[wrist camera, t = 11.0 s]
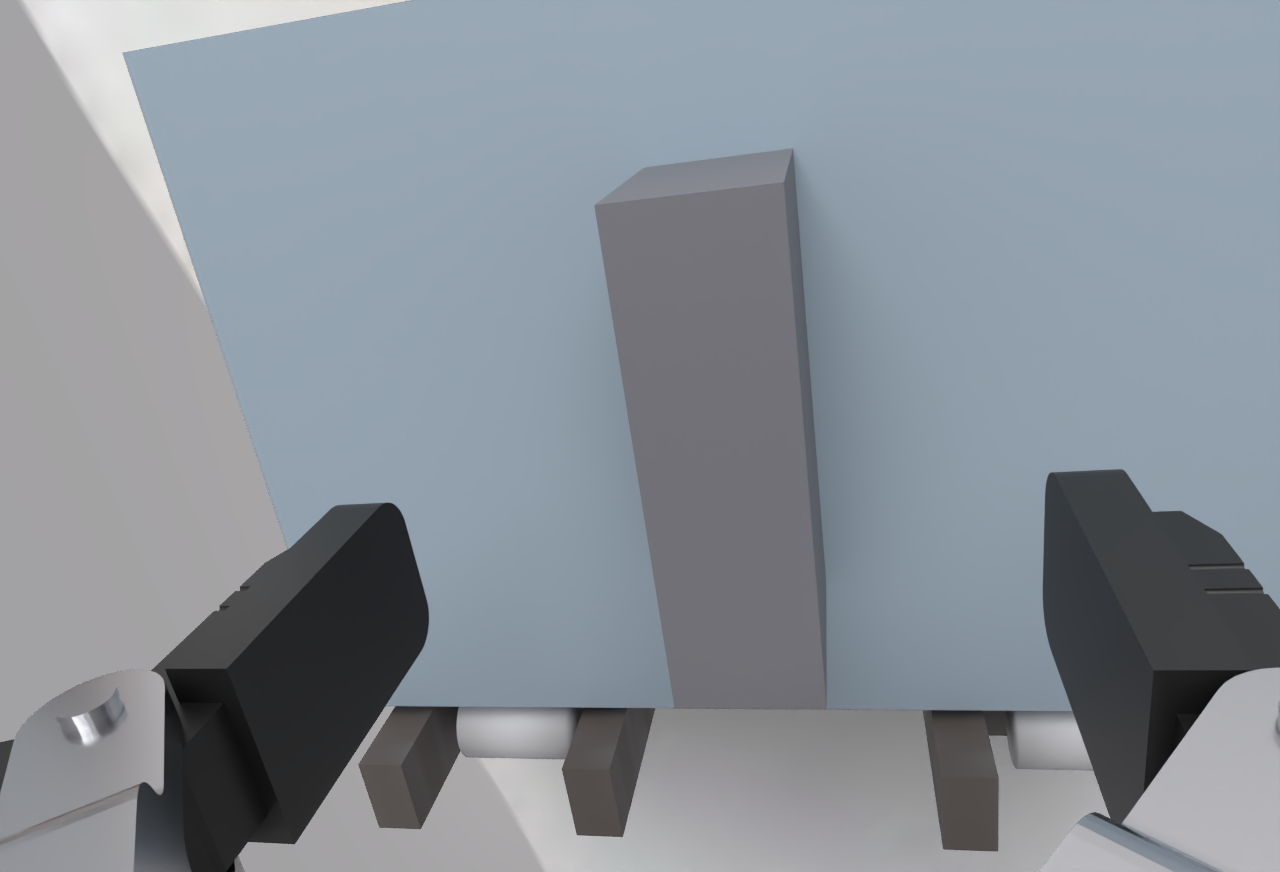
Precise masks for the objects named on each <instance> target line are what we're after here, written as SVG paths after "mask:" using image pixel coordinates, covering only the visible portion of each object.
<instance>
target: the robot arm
mask: <svg viewBox="0 0 1280 872" xmlns="http://www.w3.org/2000/svg"><path fill="white" fill-rule="evenodd" d="M1043 611H1044V620H1045V627H1046V633H1047V638H1048V642H1049V646H1050V649H1051V652H1052V655H1053V658H1054V660H1055V663H1056V666H1057V669H1058V672H1059V675H1060V677H1061V680H1062V683H1063V686H1064V689H1065V691H1066V694H1067V697H1068V700H1069V703H1070V706H1071V708H1072V711H1073V714H1074V717H1075V720H1076V722H1077V725H1078V728H1079V731H1080V734H1081V736H1082V739H1083V742H1084V745H1085V748H1086V751H1087V753H1088V756H1089V759H1090V762H1091V765H1092V767H1093V770H1094V773H1095V776H1096V779H1097V782H1098V784H1099V787H1100V790H1101V793H1102V796H1103V798H1104V801H1105V804H1106V807H1107V810H1108V812H1109V815H1110V818H1111V819H1110V818H1108V817H1106V816H1104V815H1101V814H1099V813H1096V812H1094V813H1090V814H1088V815H1086V816H1085V817H1083V818H1082V819H1081V820H1080V821H1079V822H1078V823H1077V824H1076V825H1075V826H1074V827H1073V828H1072V829H1071V831H1070V832H1069V833H1068V834H1067V836H1066V837H1065V838H1064V840H1063V841H1062V842H1061V844H1060V845H1059V846H1058V847H1057V849H1056V850H1055V851H1054V853H1053V854H1052V855H1051V857H1050V858H1049V859H1048V860H1047V862H1046V863H1045V864H1044V866H1043V867H1042V868H1041V870H1040V871H1039V872H1280V609H1279V607H1278V606H1277V605H1276V603H1275V602H1274V601H1273V600H1272V598H1271V597H1270V596H1269V594H1264V592H1263V587H1262V585H1261V584H1260V583H1259V582H1258V580H1257V579H1256V578H1255V576H1254V575H1253V574H1252V572H1251V571H1250V570H1249V569H1245V567H1244V562H1243V561H1242V560H1241V558H1240V557H1239V556H1238V554H1237V553H1236V552H1235V551H1234V549H1233V548H1232V547H1231V545H1230V544H1229V543H1228V542H1227V540H1226V539H1225V538H1224V536H1223V535H1222V534H1221V533H1219V532H1217V531H1215V530H1214V529H1212V528H1210V527H1208V526H1207V525H1205V524H1203V523H1202V522H1200V521H1198V520H1196V519H1195V518H1193V517H1191V516H1190V515H1188V514H1186V513H1184V512H1183V511H1159V512H1152V510H1151V509H1150V507H1149V506H1148V504H1147V503H1146V501H1145V500H1144V498H1143V497H1142V495H1141V494H1140V492H1139V491H1138V489H1137V488H1136V486H1135V485H1134V483H1133V482H1132V480H1131V479H1130V477H1129V476H1128V474H1127V473H1126V472H1125V471H1124V470H1123V469H1112V470H1091V471H1069V472H1051V473H1049V475H1048V477H1047V481H1046V488H1045V515H1044V555H1043ZM428 628H429V609H428V603H427V599H426V595H425V592H424V588H423V584H422V581H421V577H420V573H419V570H418V566H417V563H416V559H415V555H414V552H413V548H412V545H411V541H410V537H409V534H408V530H407V527H406V523H405V520H404V517H403V515H402V513H401V511H400V510H399V508H398V507H397V506H396V505H394V504H393V503H368V504H347V505H337V506H334V507H333V508H331V509H330V510H329V511H328V512H327V513H326V514H325V515H324V516H323V517H322V518H321V519H320V520H319V521H318V522H317V523H316V524H315V525H313V526H312V527H311V528H310V529H309V530H308V531H307V532H306V533H305V534H304V535H303V536H302V537H301V538H300V539H299V540H298V541H297V542H296V543H295V544H294V545H293V546H292V547H291V548H290V549H288V550H286V551H284V552H283V553H281V554H279V555H278V556H276V557H274V558H273V559H271V560H269V561H268V562H266V563H264V565H262V566H261V567H260V568H259V569H258V570H257V571H256V572H255V573H254V574H253V575H252V576H251V577H250V578H249V579H248V580H247V581H245V582H244V583H243V584H242V585H241V586H240V591H235V592H234V593H233V594H232V595H231V596H230V597H229V598H227V600H225V601H224V602H223V603H222V604H221V605H220V610H219V611H214V612H213V613H212V614H211V615H210V616H209V617H207V618H206V619H205V620H204V621H203V622H202V623H201V624H200V625H199V626H198V627H197V628H196V629H195V630H194V631H193V632H192V633H191V634H190V635H188V636H187V637H186V638H185V639H184V640H183V641H182V642H181V643H180V644H179V645H178V646H177V647H176V648H175V649H174V650H173V651H172V652H170V653H169V655H167V656H166V657H165V658H164V659H163V660H162V661H161V662H160V663H159V664H158V665H157V666H156V667H155V668H154V669H152V670H151V671H150V670H143V669H133V670H124V671H118V672H114V673H110V674H106V675H103V676H100V677H97V678H94V679H91V680H89V681H86V682H84V683H81V684H79V685H77V686H75V687H73V688H71V689H69V690H67V691H65V692H63V693H62V694H60V695H58V696H57V697H55V698H54V699H52V700H50V701H49V702H47V703H46V704H45V705H43V706H42V707H41V708H39V709H38V710H37V711H36V712H35V713H34V714H33V715H31V716H30V717H29V718H28V719H27V720H26V722H25V723H24V724H23V725H22V726H21V728H20V729H19V731H18V732H17V734H16V737H15V739H14V740H9V741H5V742H0V872H245V871H244V868H243V866H242V864H241V861H240V859H239V856H238V855H239V853H240V852H241V850H242V849H243V848H244V846H245V845H246V844H247V842H264V843H283V844H295V843H296V842H297V840H298V839H299V837H300V836H301V834H302V832H303V831H304V829H305V828H306V826H307V825H308V823H309V822H310V820H311V819H312V817H313V816H314V814H315V813H316V811H317V809H318V808H319V806H320V805H321V803H322V802H323V800H324V799H325V797H326V796H327V794H328V793H329V791H330V790H331V788H332V787H333V785H334V784H335V782H336V781H337V779H338V778H339V776H340V775H341V773H342V771H343V770H344V768H345V767H346V765H347V764H348V762H349V761H350V759H351V758H352V756H353V755H354V753H355V752H356V750H357V749H358V747H359V745H360V744H361V742H362V741H363V739H364V738H365V736H366V735H367V733H368V732H369V730H370V729H371V727H372V726H373V724H374V723H375V721H376V720H377V718H378V717H379V715H380V714H381V712H382V711H383V709H384V707H385V706H386V704H387V703H388V701H389V700H390V698H391V697H392V695H393V694H394V692H395V691H396V689H397V688H398V686H399V685H400V683H401V682H402V680H403V679H404V677H405V675H406V674H407V672H408V671H409V669H410V668H411V666H412V665H413V663H414V662H415V660H416V659H417V657H418V656H419V654H420V653H421V651H422V649H423V647H424V645H425V642H426V638H427V634H428Z"/></svg>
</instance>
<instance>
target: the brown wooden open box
mask: <svg viewBox="0 0 1280 872" xmlns="http://www.w3.org/2000/svg"><path fill="white" fill-rule="evenodd" d="M458 708H459V707H446V706H395V708H394V709H393V711H392V713H391V714H390V716H389V718H388V719H387V720H386V722H385V724H384V725H383V727H382V728H381V730H380V731H379V733H378V735H377V736H376V738H375V739H374V741H373V742H372V744H371V746H370V747H369V749H368V750H367V752H366V754H365V755H364V757H363V758H362V760H361V761H360V763H359V768H360V770H361V774H362V777H363V779H364V782H365V786H366V789H367V792H368V794H369V798H370V800H371V804H372V807H373V809H374V813H375V816H376V818H377V822H378V825H379V827H380V828H406V829H407V828H408V829H421V827H422V825H423V823H424V822H425V820H426V817H427V815H428V814H429V812H430V810H431V808H432V806H433V804H434V802H435V800H436V798H437V796H438V794H439V792H440V790H441V788H442V786H443V784H444V782H445V780H446V778H447V776H448V774H449V772H450V770H451V768H452V766H453V764H454V762H455V760H456V758H457V756H458V754H459V753H460V751H461V750H460V748H459V745H458V740H457V729H456V726H457V714H458ZM654 710H655V708H584V709H583V711H582V714H581V717H580V720H579V723H578V725H577V728H576V731H575V734H574V737H573V739H572V742H571V745H570V748H569V751H568V754H567V756H566V759H565V762H564V765H563V768H562V771H563V776H564V780H565V784H566V789H567V793H568V798H569V802H570V807H571V811H572V815H573V820H574V824H575V829H576V833H577V835H586V836H612V837H623V834H624V830H625V826H626V822H627V818H628V814H629V810H630V806H631V802H632V798H633V794H634V790H635V786H636V782H637V778H638V774H639V770H640V766H641V762H642V758H643V754H644V750H645V746H646V742H647V738H648V734H649V730H650V726H651V722H652V718H653V714H654ZM923 713H924V720H925V727H926V734H927V741H928V748H929V755H930V762H931V768H932V775H933V782H934V789H935V796H936V803H937V810H938V817H939V823H940V830H941V837H942V844H943V849H948V850H974V851H998V774H997V770H996V766H995V761H994V757H993V753H992V749H991V744H990V740H989V736H988V735H1003V736H1007V730H1006V719H1005V711H983V710H923Z"/></svg>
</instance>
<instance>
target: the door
mask: <svg viewBox="0 0 1280 872" xmlns="http://www.w3.org/2000/svg"><path fill="white" fill-rule="evenodd" d="M123 56H124V59H125V62H126V65H127V68H128V71H129V74H130V77H131V80H132V83H133V86H134V89H135V92H136V95H137V98H138V101H139V104H140V107H141V110H142V113H143V116H144V119H145V122H146V125H147V128H148V131H149V134H150V137H151V140H152V143H153V146H154V149H155V152H156V155H157V158H158V161H159V164H160V167H161V170H162V173H163V176H164V179H165V182H166V185H167V188H168V191H169V194H170V198H171V201H172V204H173V207H174V210H175V213H176V216H177V219H178V222H179V225H180V228H181V231H182V234H183V237H184V240H185V243H186V246H187V249H188V252H189V255H190V258H191V261H192V264H193V267H194V270H195V273H196V276H197V279H198V282H199V285H200V288H201V291H202V294H203V297H204V300H205V303H206V306H207V309H208V312H209V315H210V318H211V321H212V324H213V327H214V330H215V333H216V336H217V339H218V342H219V345H220V348H221V351H222V354H223V357H224V360H225V363H226V366H227V369H228V372H229V375H230V378H231V381H232V384H233V387H234V390H235V393H236V396H237V399H238V402H239V405H240V408H241V411H242V414H243V417H244V420H245V423H246V426H247V429H248V432H249V435H250V438H251V441H252V444H253V447H254V450H255V453H256V456H257V459H258V462H259V465H260V468H261V471H262V474H263V477H264V480H265V483H266V486H267V489H268V493H269V495H270V499H271V501H272V504H273V507H274V511H275V513H276V516H277V520H278V523H279V526H280V529H281V532H282V534H283V538H284V541H285V543H286V547H287V550H288V549H290V548H291V547H292V546H293V545H294V544H295V543H296V542H297V541H298V540H299V539H300V538H301V537H302V536H303V535H304V534H305V533H306V532H307V531H308V530H309V529H310V528H311V527H312V526H313V525H315V524H316V523H317V522H318V521H319V520H320V519H321V518H322V517H323V516H324V515H325V514H326V513H327V512H328V511H329V510H330V509H331V508H333V507H334V506H337V505H347V504H368V503H393V504H394V505H396V506H397V507H398V508H399V510H400V511H401V513H402V515H403V517H404V520H405V523H406V527H407V530H408V534H409V537H410V541H411V545H412V548H413V552H414V555H415V559H416V563H417V566H418V570H419V573H420V577H421V581H422V584H423V588H424V592H425V595H426V599H427V603H428V609H429V628H428V634H427V638H426V642H425V645H424V647H423V649H422V651H421V653H420V654H419V656H418V657H417V659H416V660H415V662H414V663H413V665H412V666H411V668H410V669H409V671H408V672H407V674H406V675H405V677H404V679H403V680H402V682H401V683H400V685H399V686H398V688H397V689H396V691H395V692H394V694H393V695H392V697H391V698H390V700H389V701H388V703H387V704H386V706H446V707H459V708H458V714H457V726H456V729H457V740H458V745H459V748H460V750H461V752H462V754H463V755H464V756H465V757H478V758H526V759H566V756H567V754H568V751H569V748H570V745H571V742H572V739H573V737H574V734H575V731H576V728H577V725H578V723H579V720H580V717H581V714H582V711H583V709H584V708H705V709H848V710H983V711H1005V719H1006V730H1007V738H1008V744H1009V750H1010V755H1011V759H1012V762H1013V765H1014V767H1015V768H1016V769H1055V770H1093V767H1092V765H1091V762H1090V759H1089V756H1088V753H1087V751H1086V748H1085V745H1084V742H1083V739H1082V736H1081V734H1080V731H1079V728H1078V725H1077V722H1076V720H1075V717H1074V714H1073V711H1072V708H1071V706H1070V703H1069V700H1068V697H1067V694H1066V691H1065V689H1064V686H1063V683H1062V680H1061V677H1060V675H1059V672H1058V669H1057V666H1056V663H1055V660H1054V658H1053V655H1052V652H1051V649H1050V646H1049V642H1048V638H1047V633H1046V627H1045V620H1044V611H1043V555H1044V515H1045V488H1046V481H1047V477H1048V475H1049V473H1051V472H1069V471H1091V470H1112V469H1123V470H1124V471H1125V472H1126V473H1127V474H1128V476H1129V477H1130V479H1131V480H1132V482H1133V483H1134V485H1135V486H1136V488H1137V489H1138V491H1139V492H1140V494H1141V495H1142V497H1143V498H1144V500H1145V501H1146V503H1147V504H1148V506H1149V507H1150V509H1151V510H1152V512H1159V511H1183V512H1184V513H1186V514H1188V515H1190V516H1191V517H1193V518H1195V519H1196V520H1198V521H1200V522H1202V523H1203V524H1205V525H1207V526H1208V527H1210V528H1212V529H1214V530H1215V531H1217V532H1219V533H1221V534H1222V535H1223V536H1224V538H1225V539H1226V540H1227V542H1228V543H1229V544H1230V545H1231V547H1232V548H1233V549H1234V551H1235V552H1236V553H1237V554H1238V556H1239V557H1240V558H1241V560H1242V561H1243V562H1244V567H1245V569H1249V570H1250V571H1251V572H1252V574H1253V575H1254V576H1255V578H1256V579H1257V580H1258V582H1259V583H1260V584H1261V585H1262V587H1263V592H1264V594H1269V596H1270V597H1271V598H1272V600H1273V601H1274V602H1275V603H1276V605H1277V606H1278V607H1279V609H1280V0H410V1H405V2H399V3H394V4H388V5H383V6H377V7H372V8H366V9H361V10H355V11H350V12H344V13H339V14H333V15H328V16H322V17H317V18H311V19H306V20H300V21H295V22H289V23H284V24H278V25H273V26H267V27H262V28H256V29H251V30H245V31H240V32H234V33H229V34H223V35H218V36H212V37H207V38H201V39H196V40H190V41H184V42H179V43H173V44H168V45H162V46H157V47H151V48H146V49H140V50H135V51H129V52H124V53H123Z"/></svg>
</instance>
